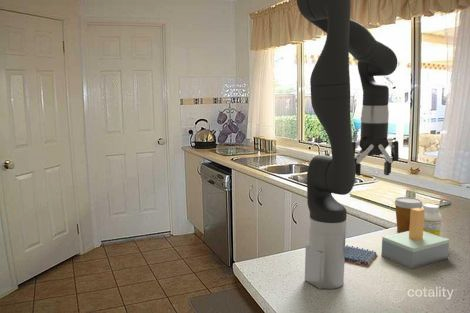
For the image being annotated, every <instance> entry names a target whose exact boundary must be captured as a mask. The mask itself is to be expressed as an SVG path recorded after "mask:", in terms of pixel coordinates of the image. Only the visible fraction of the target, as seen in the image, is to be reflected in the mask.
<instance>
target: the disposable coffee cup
mask: <svg viewBox="0 0 470 313" xmlns="http://www.w3.org/2000/svg"><path fill="white" fill-rule="evenodd" d="M393 204H394V206H395V219H396V230H397V233H402V232H406V231H409V227H410V212H411V209H413V208H421V209H423V205H424V203H423V201H422V200H421V199H419V198H416V197H415V198H414V197H408V196H401V197H400V196H399V197H396V198H395V200H394V201H393Z"/></svg>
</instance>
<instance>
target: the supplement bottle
mask: <svg viewBox="0 0 470 313" xmlns="http://www.w3.org/2000/svg"><path fill="white" fill-rule="evenodd" d="M422 209H424V210H425V214H424V228H423V231H425V232H428V233H431V234H434V235H437V236H440V237H441V234H442V233H441V232H442V231H441V229H442V220H443V216H442V214H440V213H439V210H440V206H439V205H437V204H433V203H426V204H424V203H423V206H422Z"/></svg>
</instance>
